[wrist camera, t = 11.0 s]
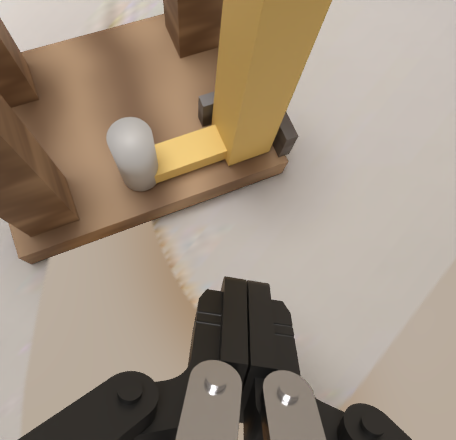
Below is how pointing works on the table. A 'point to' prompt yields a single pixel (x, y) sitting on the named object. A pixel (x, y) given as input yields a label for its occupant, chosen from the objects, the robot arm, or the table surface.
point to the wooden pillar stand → (100, 123)
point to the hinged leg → (231, 93)
